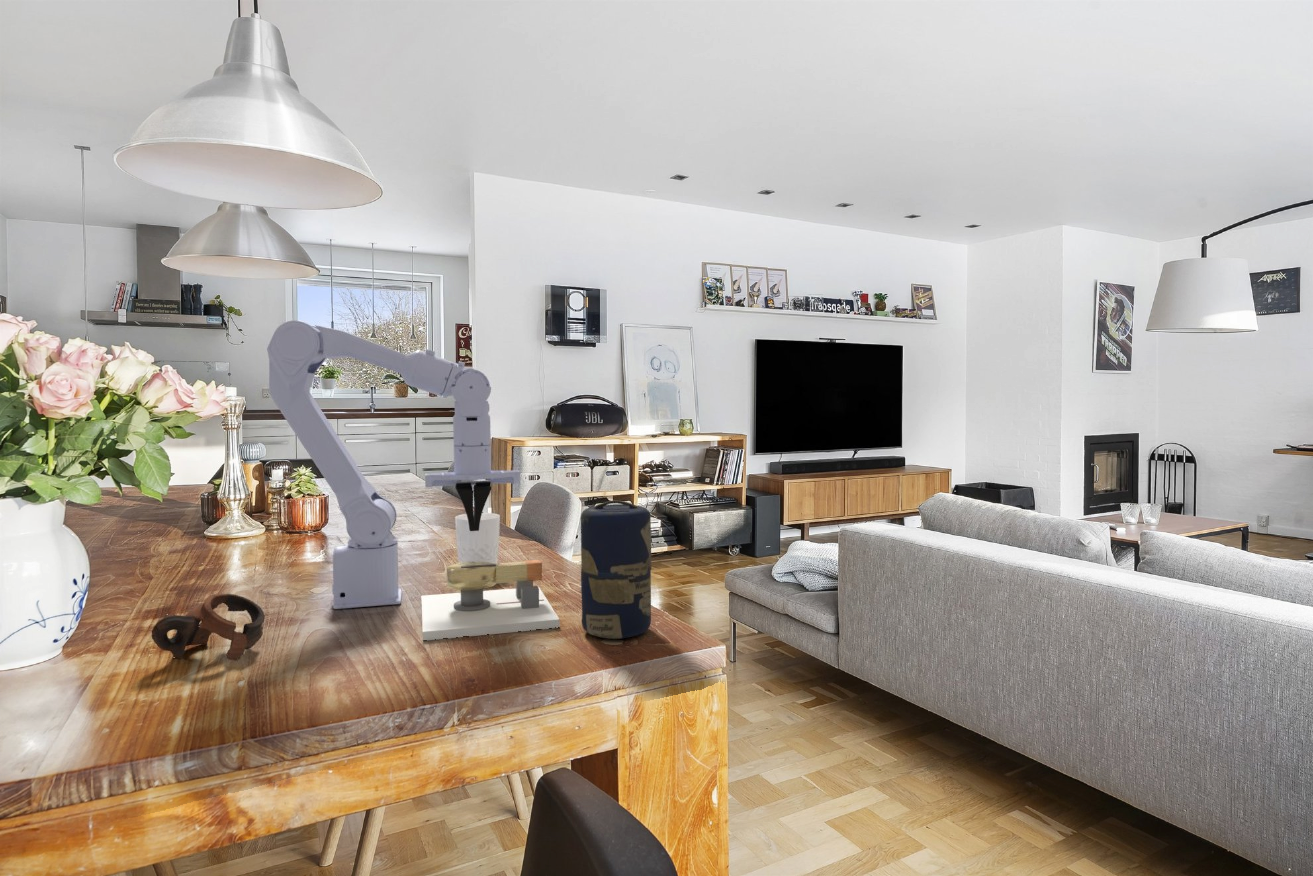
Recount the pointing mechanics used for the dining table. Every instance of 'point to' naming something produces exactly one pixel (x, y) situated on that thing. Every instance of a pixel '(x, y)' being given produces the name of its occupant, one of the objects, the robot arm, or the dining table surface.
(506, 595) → the base
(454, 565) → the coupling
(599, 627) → the canister
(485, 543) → the white cup
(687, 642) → the dining table surface
